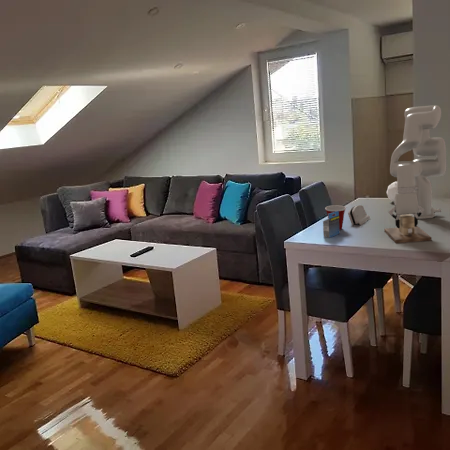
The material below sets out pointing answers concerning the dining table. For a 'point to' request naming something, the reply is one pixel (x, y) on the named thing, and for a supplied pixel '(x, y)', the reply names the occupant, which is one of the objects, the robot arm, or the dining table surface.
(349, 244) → the dining table surface
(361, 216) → the white rounded slab
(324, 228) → the label tape box
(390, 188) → the geodesic sphere
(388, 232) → the stub plate
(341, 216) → the plastic cup
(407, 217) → the maple block
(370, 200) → the dining table surface
